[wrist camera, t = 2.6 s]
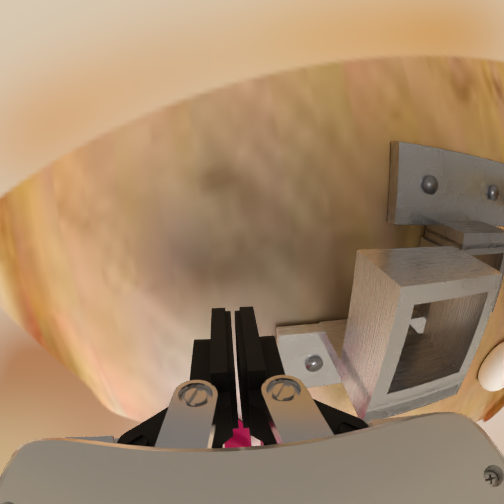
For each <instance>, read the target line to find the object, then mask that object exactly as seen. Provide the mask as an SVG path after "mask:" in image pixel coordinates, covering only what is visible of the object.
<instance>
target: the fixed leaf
mask: <svg viewBox="0 0 504 504" xmlns="http://www.w3.org/2000/svg"><path fill="white" fill-rule="evenodd" d="M387 221H388V222H390V223H392V224H394V225H426V227H425V235H424V237H420V244H419V247H440V246H454V247H456V248H458V249H460V250H462V251H464V252H465V253H467V254H469V255H471V256H473V257H475V258H476V259H478V260H480V261H482V262H484V263H485V264H487V265H489V266H491V267H492V268H494V269H496V270H498V271H499V272H501V273H502V276H501V280H500V284H499V288H498V291H497V295H496V298H495V301H494V304H493V308H492V311H491V312H493V310H494V307H495V303H496V300H497V297H498V294H499V290H500V287H501V283H502V279H503V275H504V230H502V229H499V228H497V227H494V226H504V164H503V163H499V162H495V161H492V160H488V159H484V158H480V157H476V156H472V155H468V154H463V153H459V152H454V151H449V150H444V149H439V148H434V147H429V146H423V145H417V144H411V143H405V142H391V158H390V183H389V199H388V211H387ZM430 306H431V302H429V303H423V304H416V305H414V308H415V309H416V310H417V311H418V312H419V313H420V314H421V315H422V316H423V317H424V318H425V319H426V320H427V317H428V313H429V309H430Z"/></svg>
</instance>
